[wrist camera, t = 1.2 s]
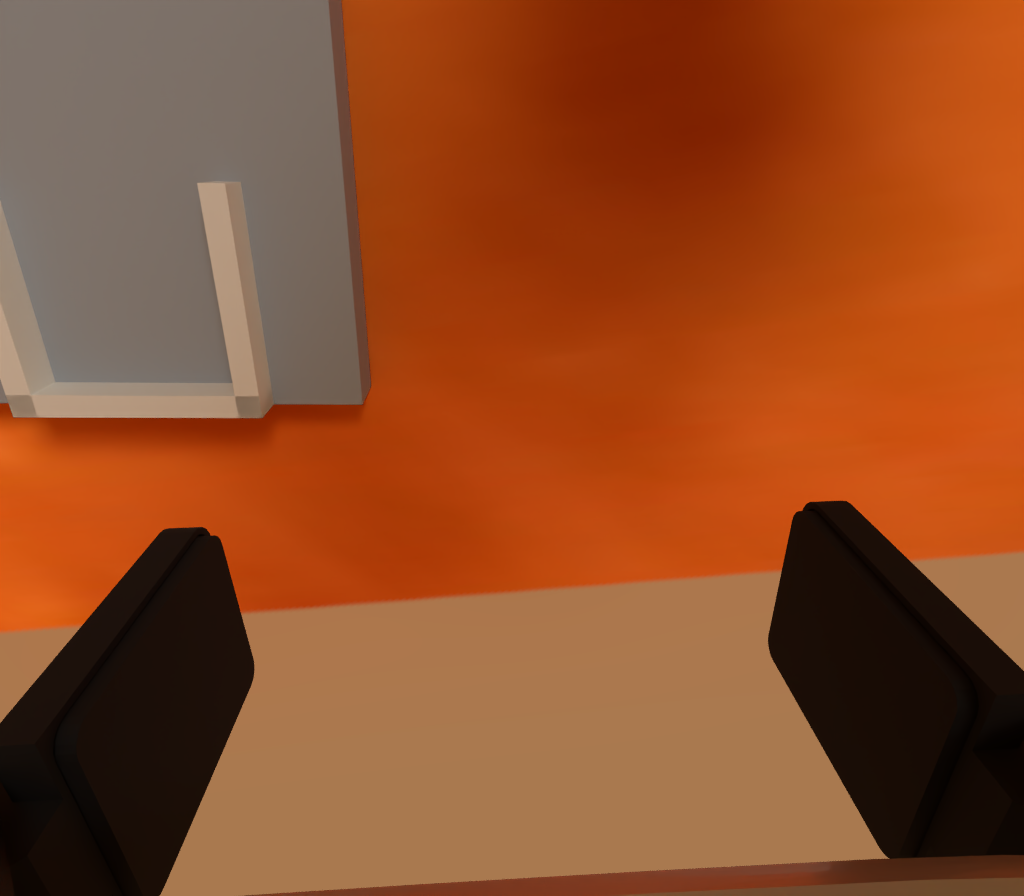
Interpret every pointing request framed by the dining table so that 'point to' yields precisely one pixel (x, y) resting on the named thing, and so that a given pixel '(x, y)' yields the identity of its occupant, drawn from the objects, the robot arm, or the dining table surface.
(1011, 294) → the dining table surface
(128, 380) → the dock
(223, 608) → the robot arm
